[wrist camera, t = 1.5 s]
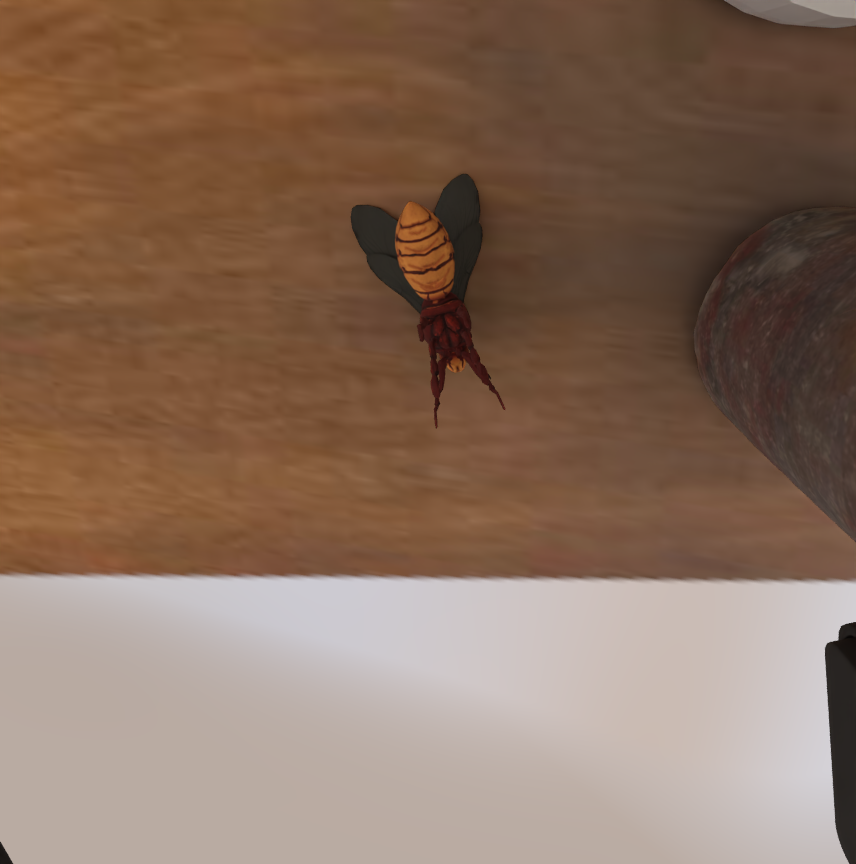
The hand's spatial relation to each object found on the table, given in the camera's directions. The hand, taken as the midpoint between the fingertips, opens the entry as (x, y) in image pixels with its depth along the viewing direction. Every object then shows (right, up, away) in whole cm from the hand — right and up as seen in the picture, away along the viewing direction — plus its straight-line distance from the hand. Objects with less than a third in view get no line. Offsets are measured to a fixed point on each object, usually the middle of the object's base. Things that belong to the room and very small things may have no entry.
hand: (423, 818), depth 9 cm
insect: (0, +7, +11) cm, 13 cm away
